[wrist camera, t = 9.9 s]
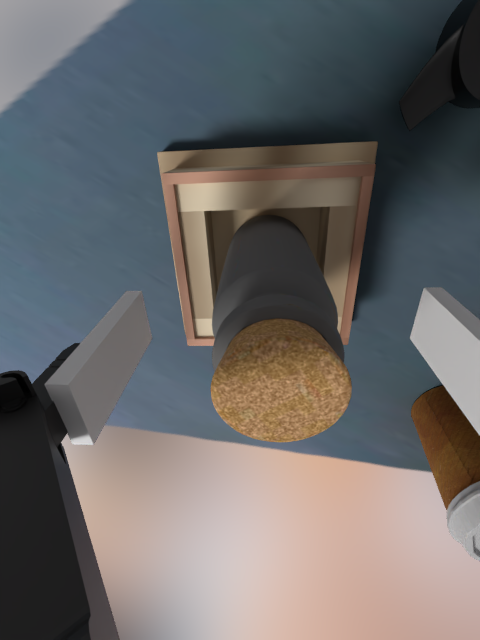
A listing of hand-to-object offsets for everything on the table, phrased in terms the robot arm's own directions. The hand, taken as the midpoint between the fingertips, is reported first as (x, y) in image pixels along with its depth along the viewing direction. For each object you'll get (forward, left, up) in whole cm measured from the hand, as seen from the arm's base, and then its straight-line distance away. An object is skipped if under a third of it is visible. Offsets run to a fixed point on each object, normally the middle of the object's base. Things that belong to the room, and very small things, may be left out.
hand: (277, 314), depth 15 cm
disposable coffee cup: (-18, +17, -11) cm, 27 cm away
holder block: (0, 0, -11) cm, 11 cm away
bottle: (0, 0, -10) cm, 10 cm away
